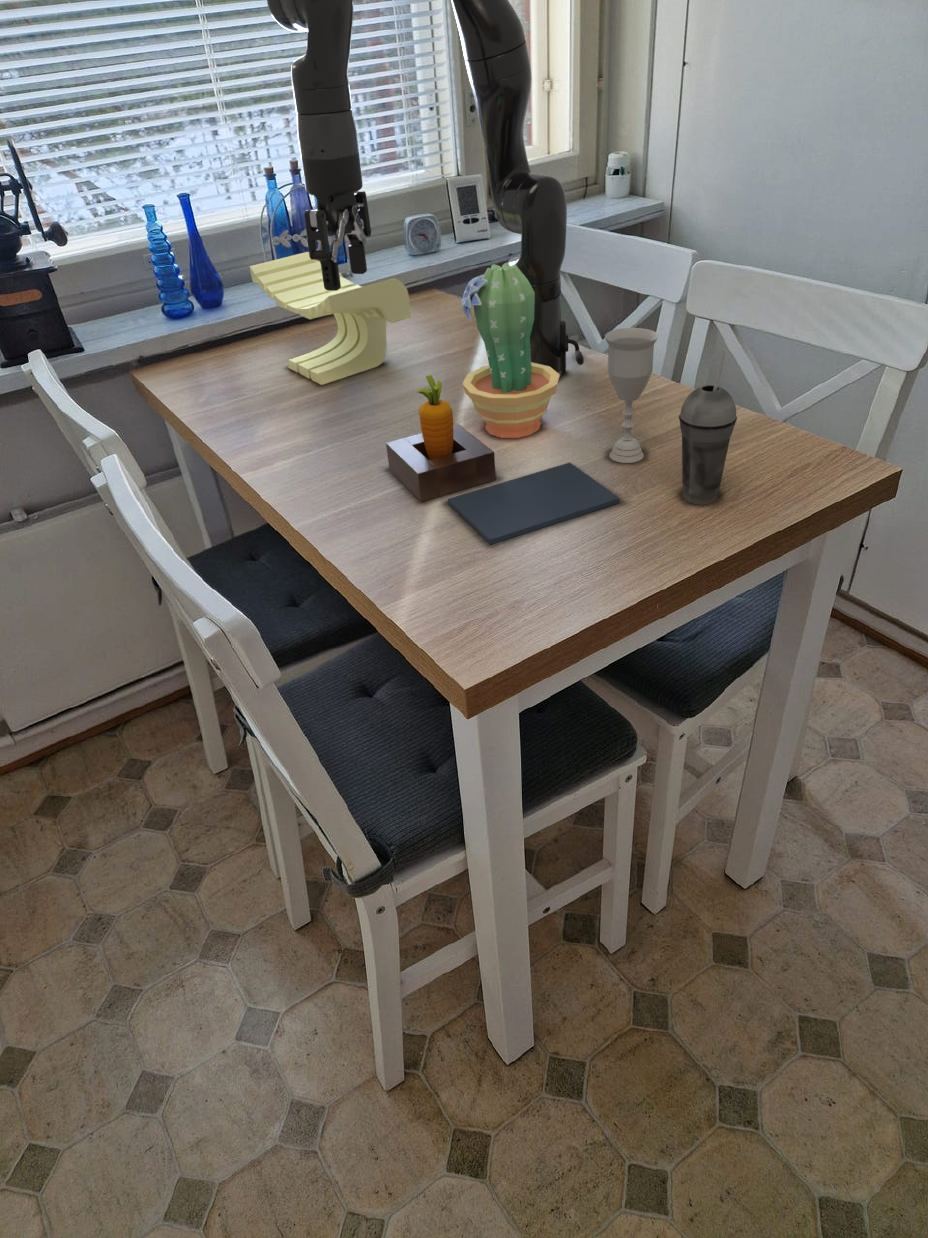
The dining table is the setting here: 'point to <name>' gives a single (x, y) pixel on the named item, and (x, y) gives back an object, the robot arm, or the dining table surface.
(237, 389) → the dining table surface
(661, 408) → the dining table surface
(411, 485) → the stand
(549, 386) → the potted cactus
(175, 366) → the dining table surface
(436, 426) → the carrot
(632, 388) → the chalice
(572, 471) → the mat
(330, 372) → the slatted curved stool
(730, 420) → the beverage cup
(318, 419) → the dining table surface
